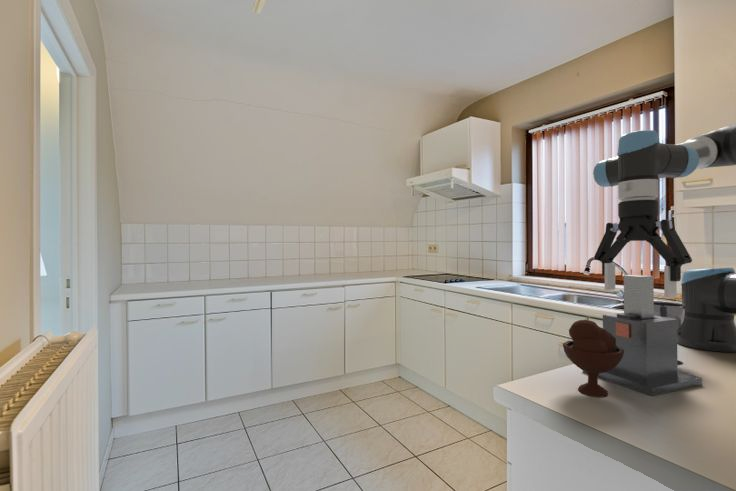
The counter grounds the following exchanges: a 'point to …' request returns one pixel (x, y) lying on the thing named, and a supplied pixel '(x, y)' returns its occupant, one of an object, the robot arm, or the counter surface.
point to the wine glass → (671, 313)
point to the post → (639, 296)
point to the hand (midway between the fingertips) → (638, 293)
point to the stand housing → (647, 354)
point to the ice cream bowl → (592, 353)
